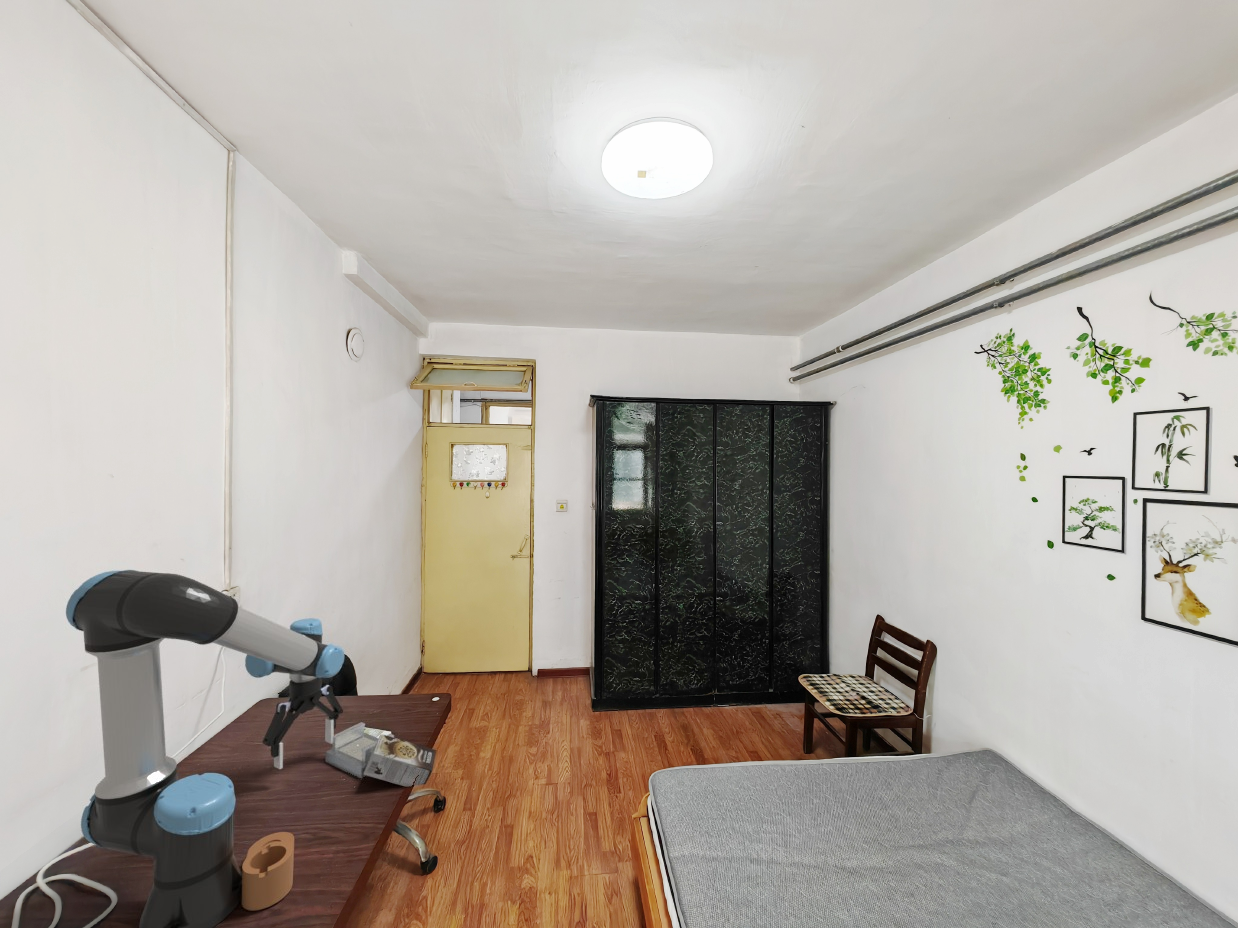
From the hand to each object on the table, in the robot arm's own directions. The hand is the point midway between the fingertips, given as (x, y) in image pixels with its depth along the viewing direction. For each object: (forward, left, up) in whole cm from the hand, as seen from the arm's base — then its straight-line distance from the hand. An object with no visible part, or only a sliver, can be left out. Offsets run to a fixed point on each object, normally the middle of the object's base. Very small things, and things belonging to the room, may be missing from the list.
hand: (304, 753), depth 137 cm
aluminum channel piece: (+12, -8, -5) cm, 15 cm away
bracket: (-23, -28, -6) cm, 37 cm away
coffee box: (+6, -19, +3) cm, 21 cm away
